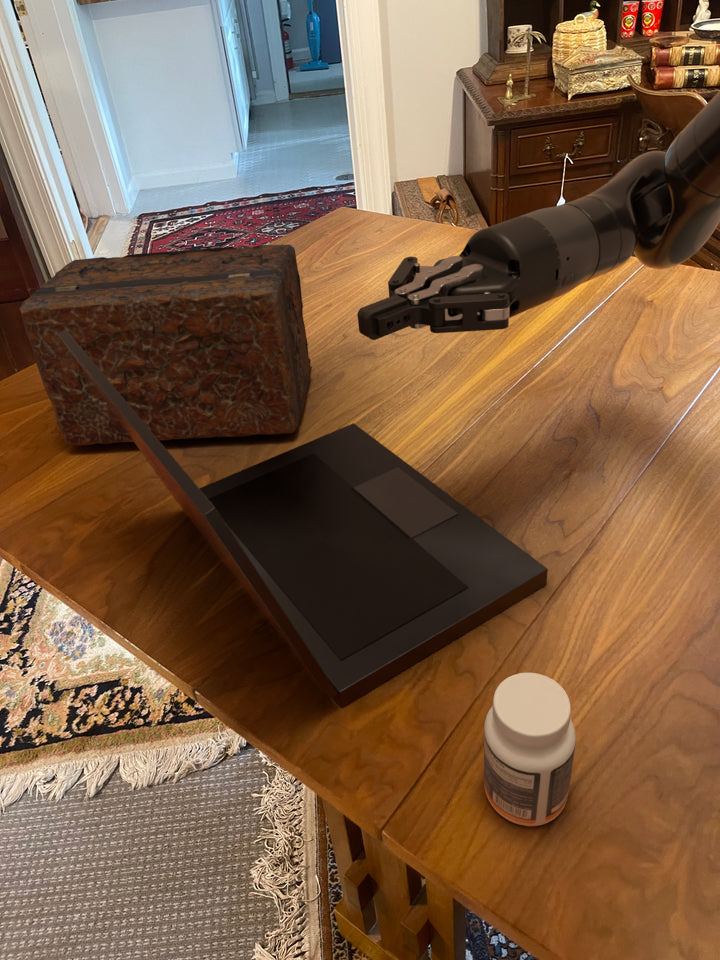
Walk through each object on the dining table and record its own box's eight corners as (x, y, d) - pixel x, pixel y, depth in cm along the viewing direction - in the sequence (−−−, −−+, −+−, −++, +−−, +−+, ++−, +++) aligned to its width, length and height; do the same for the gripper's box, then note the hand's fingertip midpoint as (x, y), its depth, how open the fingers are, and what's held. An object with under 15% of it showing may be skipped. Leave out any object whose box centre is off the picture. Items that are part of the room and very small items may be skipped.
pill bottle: (540, 742, 54) (549, 653, 48) (583, 813, 49) (599, 724, 43) (469, 768, 52) (469, 680, 47) (507, 843, 48) (512, 756, 42)
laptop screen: (66, 328, 64) (57, 333, 64) (216, 506, 41) (203, 515, 41) (182, 495, 79) (175, 500, 79) (339, 692, 56) (329, 700, 56)
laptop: (355, 436, 89) (353, 421, 87) (546, 584, 66) (548, 568, 65) (186, 509, 80) (182, 494, 79) (341, 708, 58) (339, 691, 56)
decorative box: (101, 395, 105) (55, 462, 88) (62, 252, 95) (1, 296, 78) (314, 379, 105) (310, 443, 87) (298, 233, 94) (290, 273, 77)
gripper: (478, 200, 65) (311, 256, 58) (595, 233, 56) (414, 304, 49) (478, 281, 69) (323, 342, 62) (586, 325, 60) (420, 401, 53)
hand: (364, 325), depth 55 cm, fingers closed
